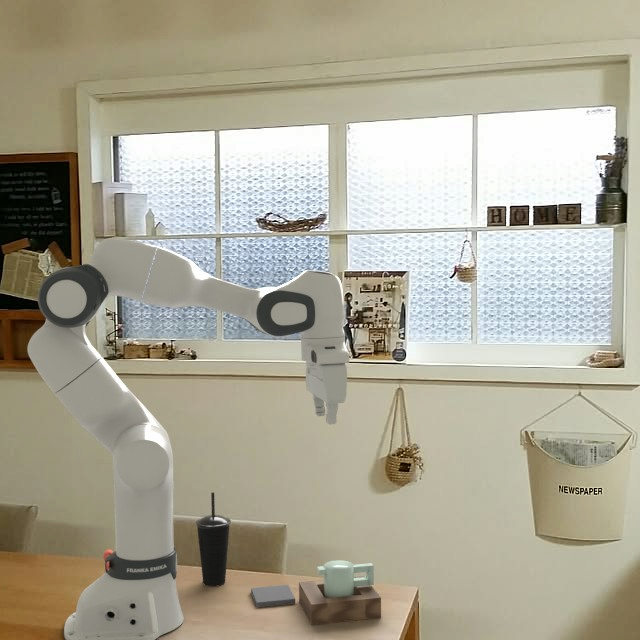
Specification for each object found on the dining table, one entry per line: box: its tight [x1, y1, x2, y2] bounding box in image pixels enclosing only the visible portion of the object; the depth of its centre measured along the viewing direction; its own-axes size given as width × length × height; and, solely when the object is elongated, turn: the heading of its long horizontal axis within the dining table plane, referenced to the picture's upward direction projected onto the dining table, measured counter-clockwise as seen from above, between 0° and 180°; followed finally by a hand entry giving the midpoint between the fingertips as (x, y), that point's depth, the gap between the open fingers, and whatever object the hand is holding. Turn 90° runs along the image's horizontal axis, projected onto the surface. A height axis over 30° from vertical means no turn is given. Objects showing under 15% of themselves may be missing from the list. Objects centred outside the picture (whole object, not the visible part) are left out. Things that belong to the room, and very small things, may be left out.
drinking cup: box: [195, 492, 232, 587], centre depth 182 cm, size 8×8×20 cm
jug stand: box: [298, 575, 382, 626], centre depth 167 cm, size 14×12×4 cm
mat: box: [250, 584, 296, 608], centre depth 173 cm, size 8×8×1 cm
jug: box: [316, 559, 375, 599], centre depth 167 cm, size 11×6×9 cm, turn 103°
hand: (325, 419), depth 166 cm, fingers open, 8 cm apart
